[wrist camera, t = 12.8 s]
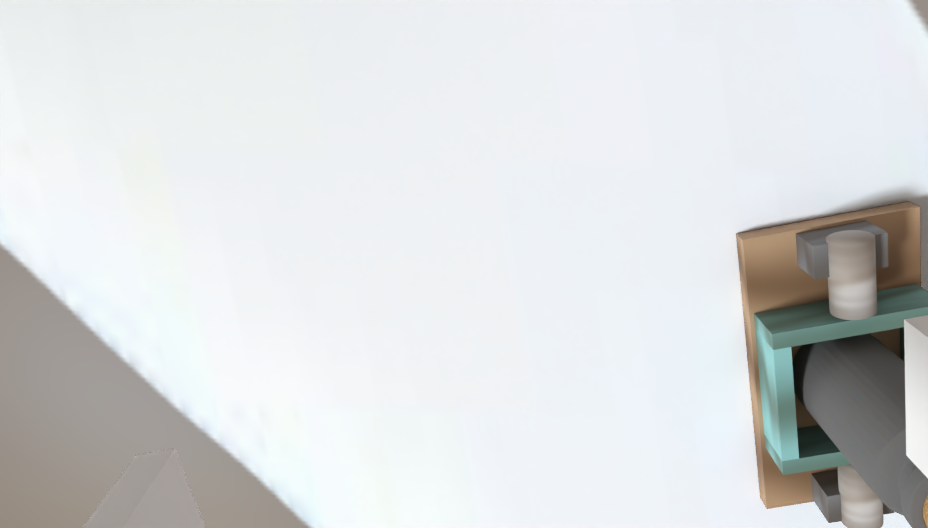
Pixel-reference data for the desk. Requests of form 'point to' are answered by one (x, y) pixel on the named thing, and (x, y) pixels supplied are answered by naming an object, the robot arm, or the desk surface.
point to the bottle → (864, 416)
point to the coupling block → (822, 339)
